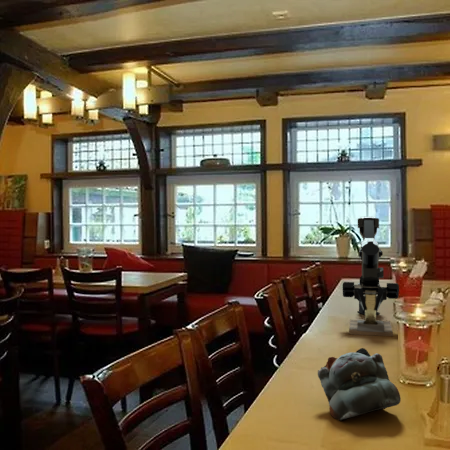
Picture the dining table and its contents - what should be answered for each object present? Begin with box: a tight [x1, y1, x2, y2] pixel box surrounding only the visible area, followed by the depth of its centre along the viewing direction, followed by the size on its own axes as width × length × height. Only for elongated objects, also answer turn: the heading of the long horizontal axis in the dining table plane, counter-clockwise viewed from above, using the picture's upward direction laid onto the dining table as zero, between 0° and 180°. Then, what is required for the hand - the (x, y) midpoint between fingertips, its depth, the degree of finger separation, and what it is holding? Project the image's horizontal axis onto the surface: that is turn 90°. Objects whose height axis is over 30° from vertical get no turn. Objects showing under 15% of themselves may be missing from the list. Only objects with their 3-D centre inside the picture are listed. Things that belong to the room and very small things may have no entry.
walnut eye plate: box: [348, 319, 394, 337], centre depth 185 cm, size 20×14×3 cm
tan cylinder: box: [364, 290, 377, 325], centre depth 180 cm, size 4×4×13 cm
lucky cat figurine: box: [317, 347, 401, 422], centre depth 109 cm, size 15×12×14 cm
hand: (370, 310), depth 179 cm, fingers closed on tan cylinder, 4 cm apart
